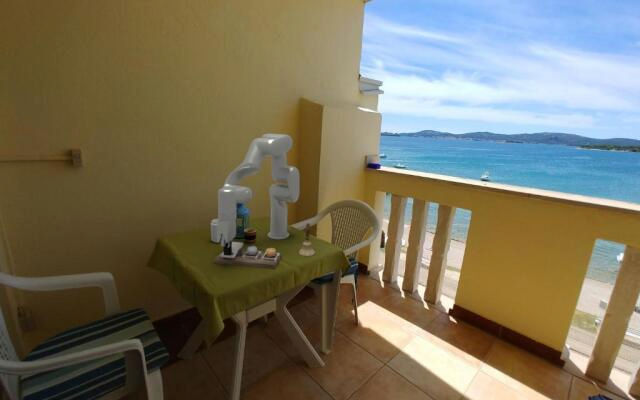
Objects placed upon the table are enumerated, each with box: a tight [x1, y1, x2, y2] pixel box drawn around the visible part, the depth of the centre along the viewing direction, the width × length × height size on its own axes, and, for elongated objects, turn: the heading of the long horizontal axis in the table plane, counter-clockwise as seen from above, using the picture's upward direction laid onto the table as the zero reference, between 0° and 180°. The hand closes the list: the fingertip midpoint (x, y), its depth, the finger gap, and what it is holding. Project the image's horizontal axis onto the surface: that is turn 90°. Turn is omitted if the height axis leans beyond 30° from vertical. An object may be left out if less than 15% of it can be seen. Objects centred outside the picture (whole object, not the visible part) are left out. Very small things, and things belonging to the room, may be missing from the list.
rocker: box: [221, 241, 244, 258], centre depth 124 cm, size 11×6×1 cm, turn 175°
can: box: [210, 218, 221, 244], centre depth 143 cm, size 8×8×12 cm
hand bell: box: [298, 222, 316, 257], centre depth 134 cm, size 8×8×16 cm
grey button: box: [246, 245, 258, 255], centre depth 124 cm, size 4×4×2 cm
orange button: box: [265, 247, 277, 257], centre depth 123 cm, size 4×4×2 cm
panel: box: [213, 247, 282, 270], centre depth 124 cm, size 13×28×5 cm, turn 85°
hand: (227, 254), depth 119 cm, fingers closed
